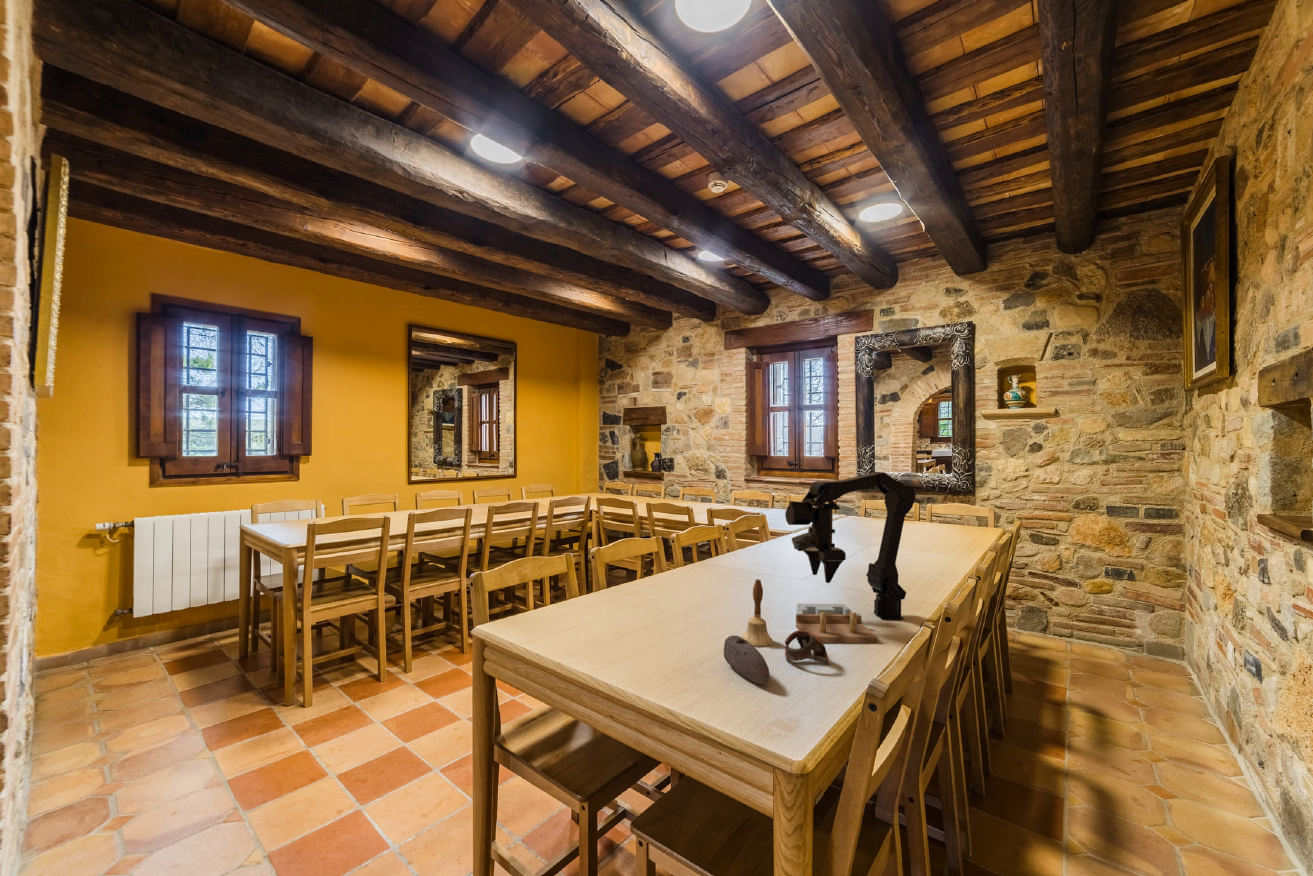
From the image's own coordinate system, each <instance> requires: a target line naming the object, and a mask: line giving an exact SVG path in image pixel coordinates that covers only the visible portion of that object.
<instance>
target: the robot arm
mask: <svg viewBox="0 0 1313 876" xmlns="http://www.w3.org/2000/svg"><path fill="white" fill-rule="evenodd" d="M875 487H876V489H877V490H878V491H879V492H880V493H882V494H883V495H884V505H885V507H886V517H885V522H884V528H883V532H882V537H881V542H880V548H879V552H878V557H877V559H876V560H875V561H874V563H871V562H869V564H868V567H867V568H868V570H867V573H866V575H865V576H866V577H867V583H868V584H869V586H870V587H871V589H872V592H873V593H875V599H874V601H873V602H874V604H873V605H874V606H873V607H874V608H873V609H874V610H873V614H874V615H875V616H877V617H878V618H880V619H881V620H883V621H884V620H887V621H888V620H889V621H890V620H891V619H893V621H894V619H895V620H897V619H904V620H905V618H904V617H903V615H902V600H905V598H906V596H907V592H906V590H905V589H904V588H903V587H902V586H901V584H899V572H898V568H897V564H896V563H897V559H898V558H897V557H898V553H899V548H900V544H901V543H900V542H901V537H902V533H903V527H904V524H905V518H906V516H907V514H908V513H909V512H910V511H911V509H913V506H914V503H915V500H916V497H917V493H916V491H915V490H914V488H913V487H912V486H910V485H906V484H905V483H903V482H901V481H900V480H899V481H898V480H897V479H895V478H893V477H892V476H890V475H889V474H887V473H886V472H884V471H872V472H871V473H866V474H863V475H858V476H854V477H848V478H844V479H840V480H816V481H813V482H812V483H811V485H810V487H809V491H807V493H806V495H805V496H804V497H803V498H802V500H801V501H795V500H789V501H788V505H787V507H786V510H785V512H784V514H785V515H784V516H785V521H786V523H787V525H789V526H809V525H810V524H811V526H809V527H808V529H807V531H808V532H806V533H801V534H799V535H796V536H793V537H791V542H792V545H793V547H794V548H793V549H794V550H797V551H798V552H803V553H804V554H805V555H806V556H807V558H808V562H809V566H810V569H811V574H812V575H813V576H817V575H818V573H819V570H820V567H821V564H823V569H824V570H823V571H824V572H823V573H824V578H825V579H824V580H825V583H826V584H830V583H831V582H832V579H833V578H834V575H835V574H836V572H837V570H838V569H839V567H841V564H842V563H843V562H844V561H846V560H847V557H846V556H847V554H846V552H845V550H843V549H842V548H839V547H835V546H836V545H835V543H833V534H835V533H836V529H834V528H833V518H834V517H833V515H834V513H833V512H834V511H836V510H837V511H838V510H840V509H841V507H840V506H839V505H837V503H836V502H835V501H836V500H838V499H840V498H842V496H844V495H847V494H850V493H855V492H858V491H859V492H860V491H863V490H867V489H871V488H872V489H873V488H875Z"/></svg>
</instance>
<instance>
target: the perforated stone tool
mask: <svg viewBox="0 0 1313 876" xmlns="http://www.w3.org/2000/svg"><path fill="white" fill-rule="evenodd" d="M741 637H742V636H740V635H729V636H728V637H727V638H725V640H724V644H723V657H724V659H725V661H726V663H727V664H728V665H729V666H730V667H731V668H732V669H733V671H734V672H736V673H738V674H739V675H740V676H742V677H743V678H745V679H747V680H748V681H750V682H751V683H754V684H756V685H760V686H764V685H766V684H768V682H769V681H770V677H771V675H770V674H771V673H770V669H769V666H768V664H767V661H766V660H765V658H764V656H763V655H762V654H761V652H760V651H759V650H758V649H757V647H754V646H753V645H752V644H751V643H749V642H748V641H746V640H744V639H743V638H741Z"/></svg>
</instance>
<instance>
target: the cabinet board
mask: <svg viewBox="0 0 1313 876" xmlns="http://www.w3.org/2000/svg"><path fill="white" fill-rule="evenodd" d="M862 618H863V617H862V615H861V614H859V613H858V614H857V612H853V611H851V613H850V614H826V613H825V612H820V614H797V613H796V614H795V628H796V629H797V631H798V630H800V629H806V630H808V631H810V632H811V633H812V634H813V635H815V636H817V637H818V638H819V639H820V640H821V641H822V642H823V644H824V643H825V644H826V643H828V644H829V643H830V644H831V643H833V644H855V643H856V644H878V643H879V637H878V635H876V634H875V633H874V632H872V630H870V629H869V628H868V627H867V626H865V624H863V623H862ZM810 639H811V637H810Z"/></svg>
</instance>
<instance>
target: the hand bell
mask: <svg viewBox="0 0 1313 876" xmlns="http://www.w3.org/2000/svg"><path fill="white" fill-rule="evenodd" d="M754 580H755V582H754V585H753V588H752V599H753V602H754V611H753V617H752V618H749V619H748V624H747V627H746V631H745V632H744V634H743V635H742V636H740V637H741V638H743V639H744V640H746V641H748V642H749V643H751V644H752V645H753V646H755V648H766V646H767V647H770V646H772V645H773V644H774V640H773V638H772V637H771V636H770V635H769V633H768V632H769V631H768V629H767V628H768V627H767V622H766V621H767V620H765V619H764V618H762V617H761V615H762V607H761V604H762V600H763V595H764V589H763V585H762V581H761V579H754ZM771 644H772V645H771ZM764 646H765V647H764Z"/></svg>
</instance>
